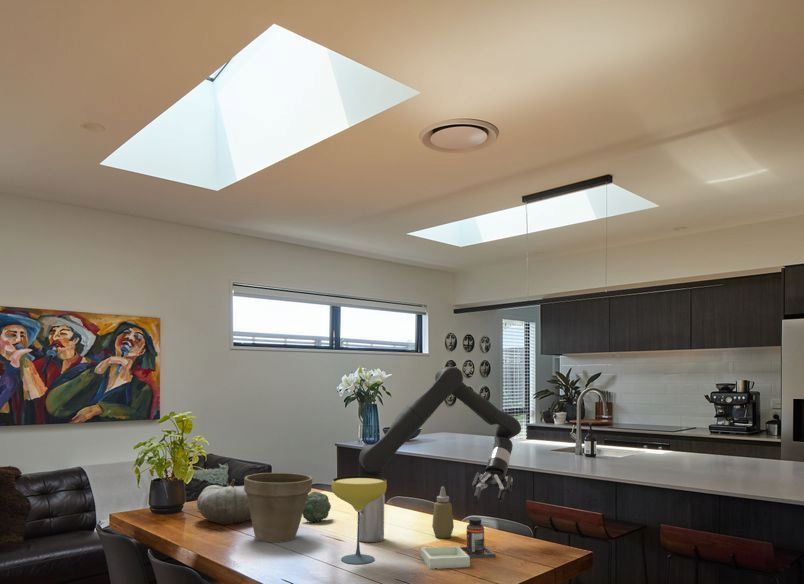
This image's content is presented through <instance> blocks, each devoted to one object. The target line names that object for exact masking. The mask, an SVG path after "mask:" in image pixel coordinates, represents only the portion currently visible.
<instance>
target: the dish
mask: <svg viewBox="0 0 804 584" xmlns="http://www.w3.org/2000/svg"><path fill="white" fill-rule="evenodd" d="M460 547H461V546H459V545H451V546H431V547H430V546H428V547H424V546H423V547H419V557H420V558H419V559H421V560H422V561H423V563H424V564H425V566H426V567H427V568H428V569H429V570H433V569H434V570H435V568H437V569H453V568H454V569H455V568H470V567H471V558H470V556H468V555H467V554H468V553H467V552H465V550H464V551H463V550H462V549H461V548H460Z"/></svg>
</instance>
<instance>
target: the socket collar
mask: <svg viewBox="0 0 804 584" xmlns="http://www.w3.org/2000/svg"><path fill="white" fill-rule="evenodd" d="M459 547H460V548H461V549H462V550H463V551H464V552H465V551H467V546H459ZM485 552H486V553H485ZM466 554H467V555H468V556H470V559H482V558H496V553H495V552H494V551H493V550H491V549H490V548H489V547H487V546H486V545H484V554H468V553H466Z"/></svg>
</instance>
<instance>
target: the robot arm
mask: <svg viewBox="0 0 804 584" xmlns="http://www.w3.org/2000/svg"><path fill="white" fill-rule="evenodd" d="M434 379H435V380H434V381H435V382H433V384H432V385H431V386H430V387H429V388H428V389H427V390H426V391H424V392H423V393H422V394H420V395H419V396H417V397H416V398H415V399H413V400H411V402H409V403H408V404H407V405H406V406H405V407H404V408H403V409H402V411H400V413H398V415H397V416H396V417H395V419H394V421H393V422H392V424H391V425H390V427H389V428H388V430H387V432H386V433H385V434H384V435H383V436H382V437H381V438H380V439H379V440H378V441H377V442H376V443H375V444H374V445H371V444H370V445H366V446H365V447H363V448H362V449H361V450H360V453H359V456H358V476H374V477H381V478H384V468H385V467H386V465H387V464H388V463H389V462H390V460H392V458H393V456H394V455H395V454H396V453H397V451H398V450H399V449H400V448H401V447H402V446H403V445H404V444H405V443H406V442H407V441H408V440H410V438H411V437H412V436H413V435H414V434H416V433H417V431H418V430H419V429H420V428H421V427H423V425H424V424H425V423H426V422H427V421H428V419H430V418H431V417H432V415H433V414H434V413H435V412H436V411H437V409H438V408H439V407H440V406H441V405H442V403H444V402H445V401H446V399H448V398H449V397H451V396H454V397H455V398H456V399H458V400H459V401H460V402H462V403H463V404H464V405H465V406H466V407H468V408H469V409H470V410H471V411H473V413H474V414H476V415H477V416H478V417H480V418H481V420H483V421H484V422H485V423H486V424H487V425H490V426H492V425H493V426H494V425H497V426H496V427H495V429H494V444H493V446H492V450H491V453H490V454H489V458H488V461H487V463H486V467H485V472H484V473H483V474H482V473H480V472H479V471H477V472H476V474H475V476H474V478H473V481H472V484H471V485H472V488H473V489H474V490H475V491H474V494H473V495H474V497H475V500H477V501H479V500H480V497H481V493H482V491H483V490H484V489H486V488H488V487H489V488H499V491H498V495H497V501H498V502H499V503H501V502H502V501H504V498H505V494H507V493H509V494H510V493H511V492H512V488H513V482H514V480H513V477H512V474H509V475H507V472H508V468H509V465H510V462H511V461H510V458H511V454H512V450H513V441H511V439H512V438H515V437H516V436H518V435H519V434H520V433H521V431H522V425H521V423H520V422H519V420H518V419H517V418H516V417H514V416H512V415H511V414H509V413H506V412H504V411H502V410H500V409H499V408H498V407H496V406H495V405H494V404H493V403H492V402H490V401H489V400H488V399H487V398H485V397H483V396H482V395H480V394H479V393H477V392H476V391H474V390H473V389H471V388H470V387H469V386H467V385H466V383H464V375H463V372H462V371H461V369H459V368H458V367H455V366H445V367H444V366H443V367H442V368H440V369H438V370H437V371H436V373H435V376H434ZM505 481H506V484H505V485H506V486H505V487H504V485H503V483H505ZM384 539H385V493H384V494H383V495H382V496H381V497H380V498H378V499H376V500H374V501H372V502H370V503H369V504H367V505H366V506H365V507H364V509H363V510H362V511H361V512H360V523H359V542H366V543H376V542H377V543H378V542H382V541H384Z"/></svg>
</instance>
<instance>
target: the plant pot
mask: <svg viewBox="0 0 804 584" xmlns="http://www.w3.org/2000/svg"><path fill="white" fill-rule="evenodd" d="M243 482H244V483H243V484H244V485H243V486H244V491H245V492H246V493H247V498H248V504H249V509H250V514H251V524H252V529H253V533H254V537H255V539H256V540H258V541H260V542H265V543H282V542H289V541H291V540H293V539H296V537H297V533H298V531H299V528H300V524H301V521H302V517H303V511H304V507H305V504H306V500H307V497H308V495H309V494H310V493H311V492H312V486H313V485H312V484H313V477H312V476H311V475H308V474H303V473H293V472H292V473H291V472H261V473H253V474H248V475H246V476H245V477H244V481H243Z"/></svg>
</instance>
